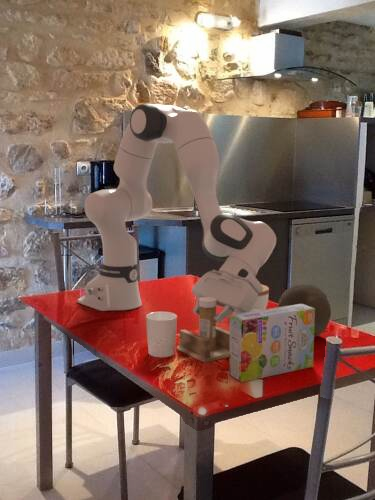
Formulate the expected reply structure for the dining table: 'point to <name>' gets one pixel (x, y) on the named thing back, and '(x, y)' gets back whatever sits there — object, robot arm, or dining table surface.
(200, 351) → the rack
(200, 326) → the sprinkles bottle
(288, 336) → the snack box
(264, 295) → the lidded white jar
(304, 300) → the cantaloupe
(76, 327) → the dining table surface
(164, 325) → the white cup
